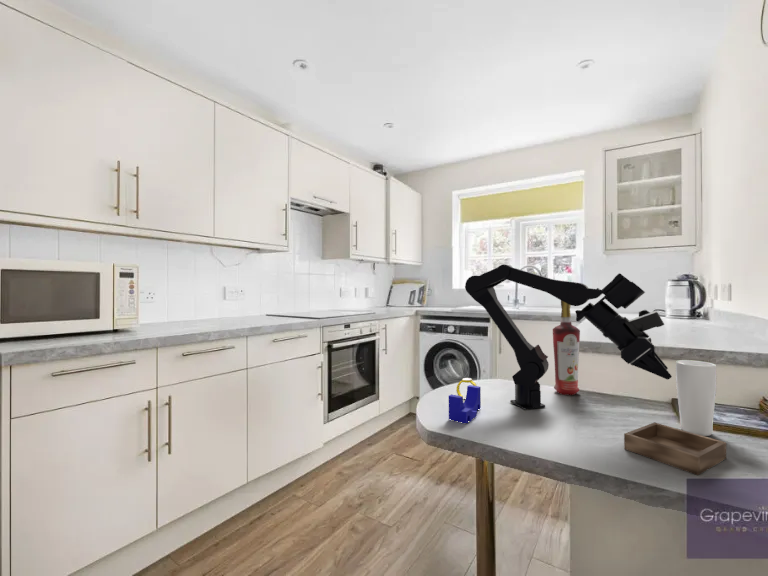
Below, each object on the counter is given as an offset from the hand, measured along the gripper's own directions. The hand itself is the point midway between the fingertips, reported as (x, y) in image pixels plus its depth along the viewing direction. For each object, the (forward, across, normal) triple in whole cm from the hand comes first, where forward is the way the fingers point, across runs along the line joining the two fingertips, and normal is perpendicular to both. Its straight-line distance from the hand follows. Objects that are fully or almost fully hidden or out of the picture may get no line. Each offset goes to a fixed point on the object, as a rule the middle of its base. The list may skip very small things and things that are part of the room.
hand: (667, 373), depth 82 cm
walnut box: (+8, -15, +9) cm, 20 cm away
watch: (-24, -4, +40) cm, 47 cm away
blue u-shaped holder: (-20, -16, +38) cm, 45 cm away
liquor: (-8, +17, +25) cm, 31 cm away
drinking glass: (+12, 0, +5) cm, 13 cm away
